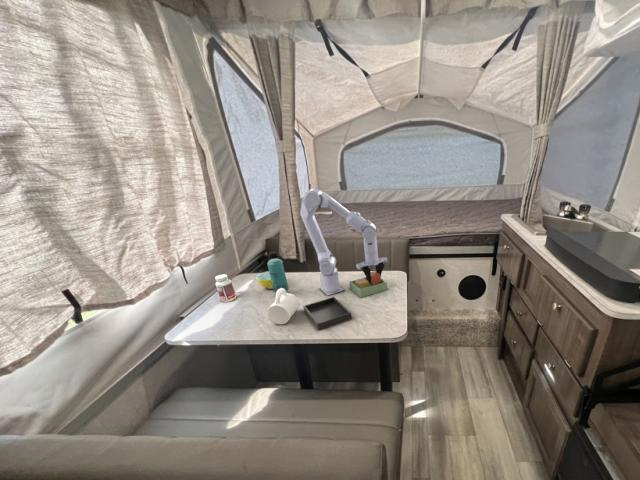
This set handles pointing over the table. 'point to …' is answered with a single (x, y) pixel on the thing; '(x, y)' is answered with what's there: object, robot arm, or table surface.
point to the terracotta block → (375, 278)
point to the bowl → (265, 280)
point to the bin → (368, 288)
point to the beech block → (362, 283)
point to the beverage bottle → (277, 272)
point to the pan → (327, 312)
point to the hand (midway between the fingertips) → (373, 280)
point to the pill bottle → (225, 288)
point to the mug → (283, 307)
